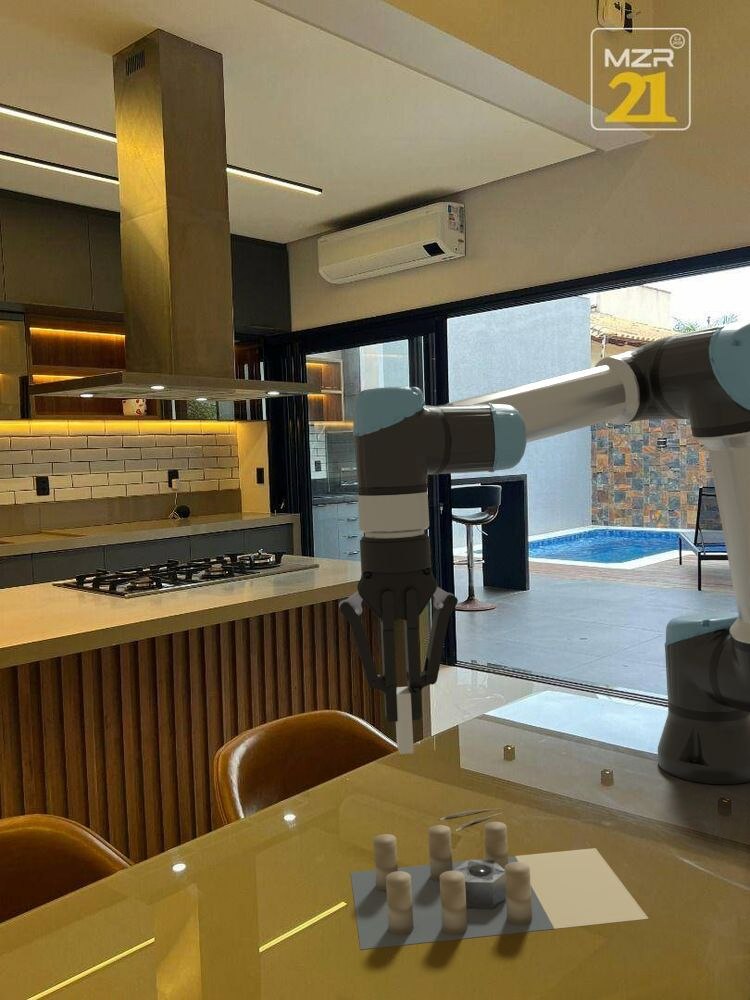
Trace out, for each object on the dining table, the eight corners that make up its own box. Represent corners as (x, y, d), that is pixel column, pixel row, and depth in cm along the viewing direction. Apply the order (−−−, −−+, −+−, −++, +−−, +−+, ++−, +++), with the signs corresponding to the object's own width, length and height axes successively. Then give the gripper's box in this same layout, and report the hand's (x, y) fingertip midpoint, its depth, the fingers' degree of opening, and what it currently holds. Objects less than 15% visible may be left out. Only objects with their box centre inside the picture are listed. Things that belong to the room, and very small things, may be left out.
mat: (595, 852, 106) (595, 848, 106) (648, 924, 90) (648, 918, 90) (350, 877, 103) (350, 872, 103) (360, 955, 87) (360, 949, 87)
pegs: (504, 864, 103) (502, 819, 103) (536, 926, 89) (534, 875, 89) (374, 877, 102) (371, 831, 101) (386, 942, 88) (383, 890, 88)
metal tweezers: (451, 842, 112) (451, 826, 112) (433, 829, 116) (433, 814, 116) (560, 819, 120) (560, 804, 120) (539, 807, 124) (539, 793, 124)
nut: (489, 880, 99) (487, 854, 99) (514, 904, 94) (512, 876, 94) (449, 890, 98) (448, 863, 98) (472, 915, 92) (471, 887, 92)
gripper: (448, 526, 97) (457, 733, 98) (332, 533, 96) (343, 742, 97) (461, 532, 89) (471, 756, 91) (335, 540, 88) (347, 766, 90)
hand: (405, 749), depth 94 cm, fingers closed
